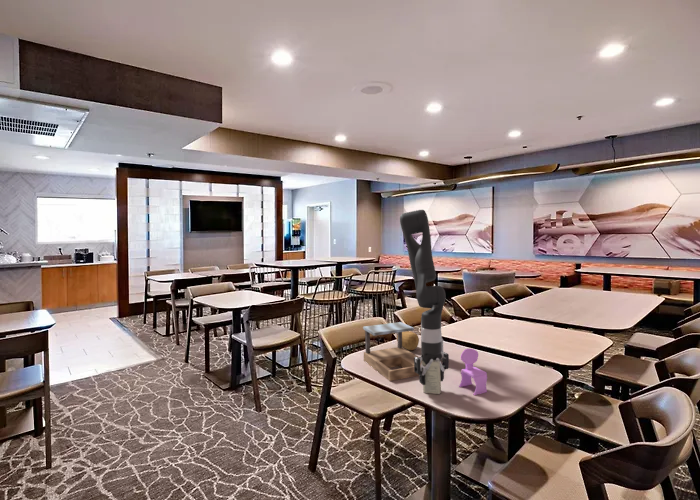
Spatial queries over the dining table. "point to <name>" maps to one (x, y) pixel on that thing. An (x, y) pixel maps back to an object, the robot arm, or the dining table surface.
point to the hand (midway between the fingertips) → (431, 382)
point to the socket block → (390, 352)
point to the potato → (409, 340)
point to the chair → (472, 372)
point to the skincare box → (432, 378)
